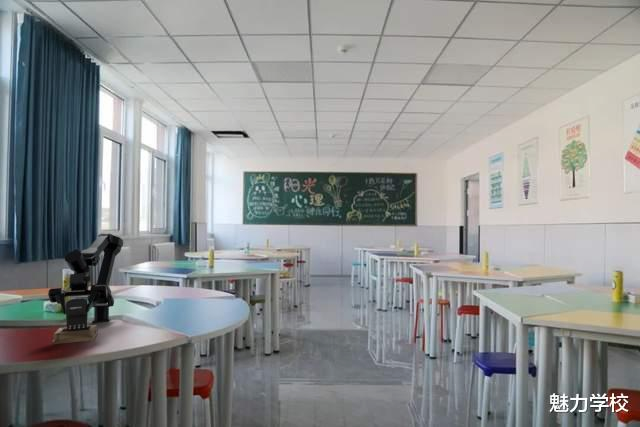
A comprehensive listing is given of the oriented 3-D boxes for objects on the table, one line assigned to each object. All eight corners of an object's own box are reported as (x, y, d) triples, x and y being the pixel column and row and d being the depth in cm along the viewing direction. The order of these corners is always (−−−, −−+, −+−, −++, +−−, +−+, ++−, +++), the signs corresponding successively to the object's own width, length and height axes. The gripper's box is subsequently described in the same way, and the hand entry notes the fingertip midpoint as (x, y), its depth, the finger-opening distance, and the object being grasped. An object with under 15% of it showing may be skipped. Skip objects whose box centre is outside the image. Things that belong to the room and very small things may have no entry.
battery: (65, 332, 144) (64, 301, 144) (66, 330, 147) (66, 299, 147) (87, 330, 147) (86, 298, 147) (88, 327, 150) (87, 297, 150)
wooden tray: (58, 337, 149) (58, 327, 149) (98, 333, 154) (98, 324, 154) (51, 344, 139) (51, 334, 139) (94, 340, 144) (94, 330, 144)
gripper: (49, 266, 147) (41, 302, 137) (106, 264, 155) (102, 297, 144) (54, 284, 155) (47, 320, 144) (108, 281, 162) (105, 315, 151)
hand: (75, 312), depth 146 cm, fingers closed on battery, 7 cm apart
